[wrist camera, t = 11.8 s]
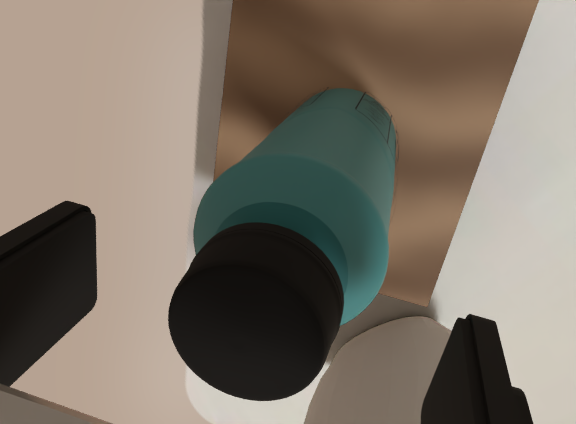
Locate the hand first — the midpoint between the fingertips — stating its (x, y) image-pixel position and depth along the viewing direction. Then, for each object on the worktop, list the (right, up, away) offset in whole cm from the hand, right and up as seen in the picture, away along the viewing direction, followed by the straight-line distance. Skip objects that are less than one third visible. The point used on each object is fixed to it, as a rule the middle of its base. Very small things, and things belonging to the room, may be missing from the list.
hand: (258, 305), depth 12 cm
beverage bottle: (+4, +7, +17) cm, 19 cm away
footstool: (+6, +10, +24) cm, 26 cm away
